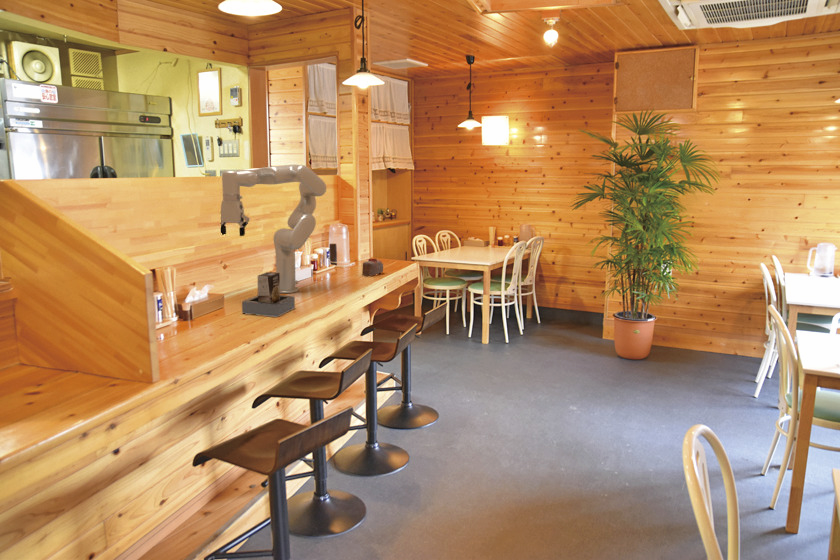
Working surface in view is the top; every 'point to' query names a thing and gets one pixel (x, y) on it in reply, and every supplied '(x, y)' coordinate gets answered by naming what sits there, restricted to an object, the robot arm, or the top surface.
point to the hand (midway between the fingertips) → (232, 235)
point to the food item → (372, 267)
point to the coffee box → (269, 287)
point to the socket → (268, 306)
